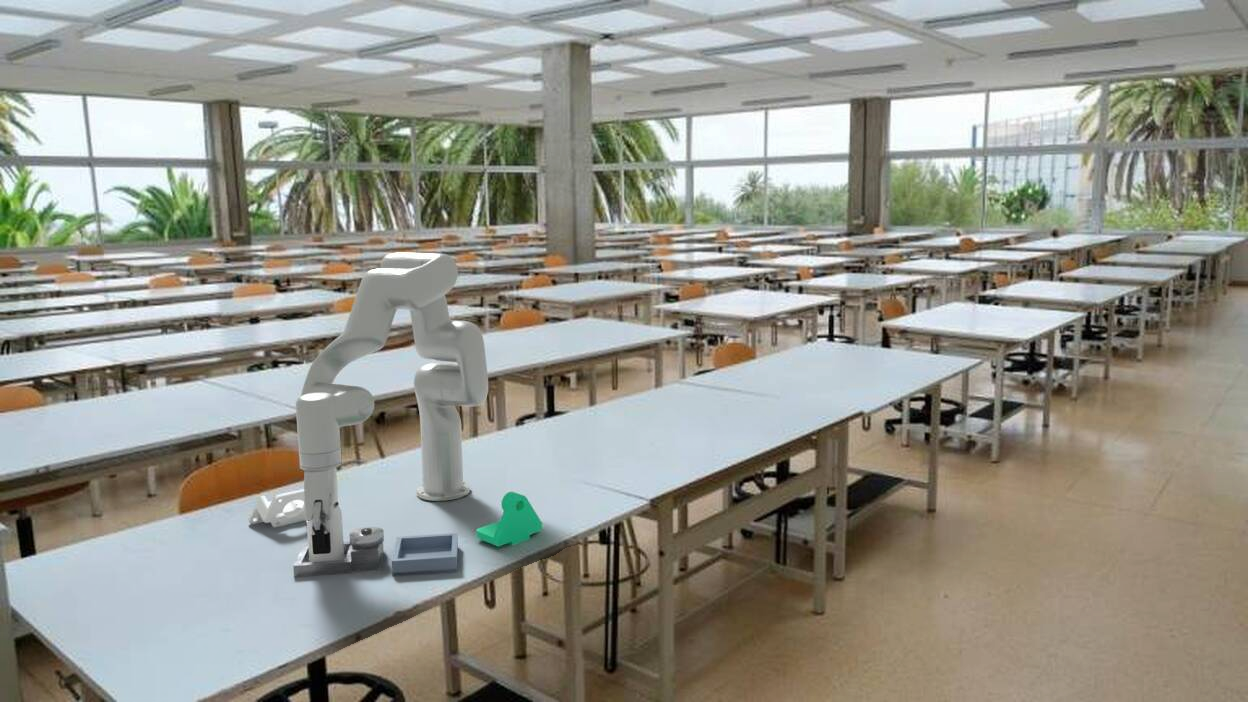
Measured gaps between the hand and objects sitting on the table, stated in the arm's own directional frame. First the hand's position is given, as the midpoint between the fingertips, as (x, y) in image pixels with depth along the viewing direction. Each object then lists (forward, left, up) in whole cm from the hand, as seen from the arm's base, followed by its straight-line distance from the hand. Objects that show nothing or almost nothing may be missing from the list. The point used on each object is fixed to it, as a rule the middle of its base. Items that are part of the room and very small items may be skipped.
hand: (326, 543), depth 171 cm
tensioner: (0, +3, -4) cm, 5 cm away
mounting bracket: (-24, -13, -5) cm, 28 cm away
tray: (+2, +19, -4) cm, 20 cm away
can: (0, 0, -4) cm, 4 cm away
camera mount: (-8, +35, -5) cm, 36 cm away
